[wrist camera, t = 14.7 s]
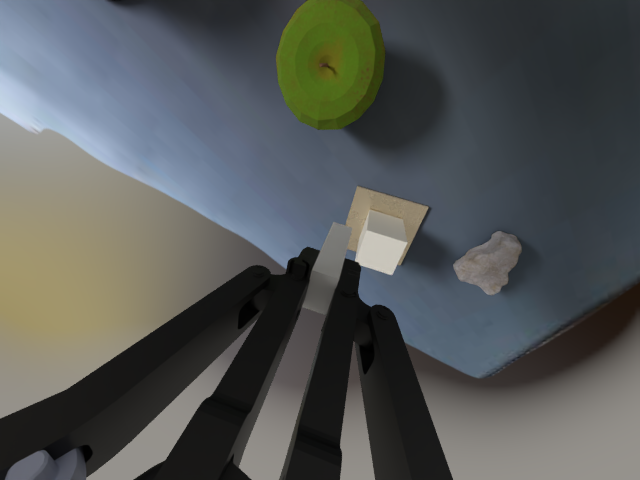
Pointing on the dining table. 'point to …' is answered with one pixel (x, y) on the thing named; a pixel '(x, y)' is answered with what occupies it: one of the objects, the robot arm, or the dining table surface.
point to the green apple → (330, 62)
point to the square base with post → (386, 205)
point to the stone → (490, 262)
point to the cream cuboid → (381, 242)
